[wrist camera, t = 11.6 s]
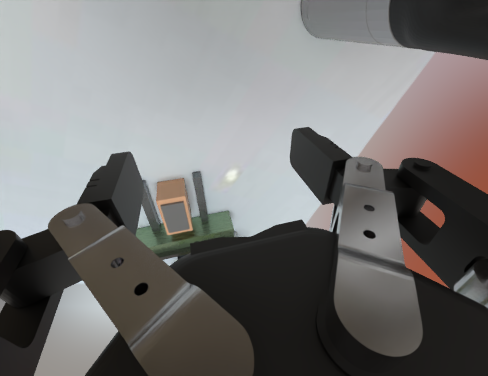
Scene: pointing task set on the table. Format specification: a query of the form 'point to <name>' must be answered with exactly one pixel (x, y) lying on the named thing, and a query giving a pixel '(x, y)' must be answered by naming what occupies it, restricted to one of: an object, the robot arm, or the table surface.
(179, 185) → the framed panel box
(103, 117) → the table surface
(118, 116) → the table surface
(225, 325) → the robot arm
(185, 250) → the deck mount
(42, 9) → the table surface
